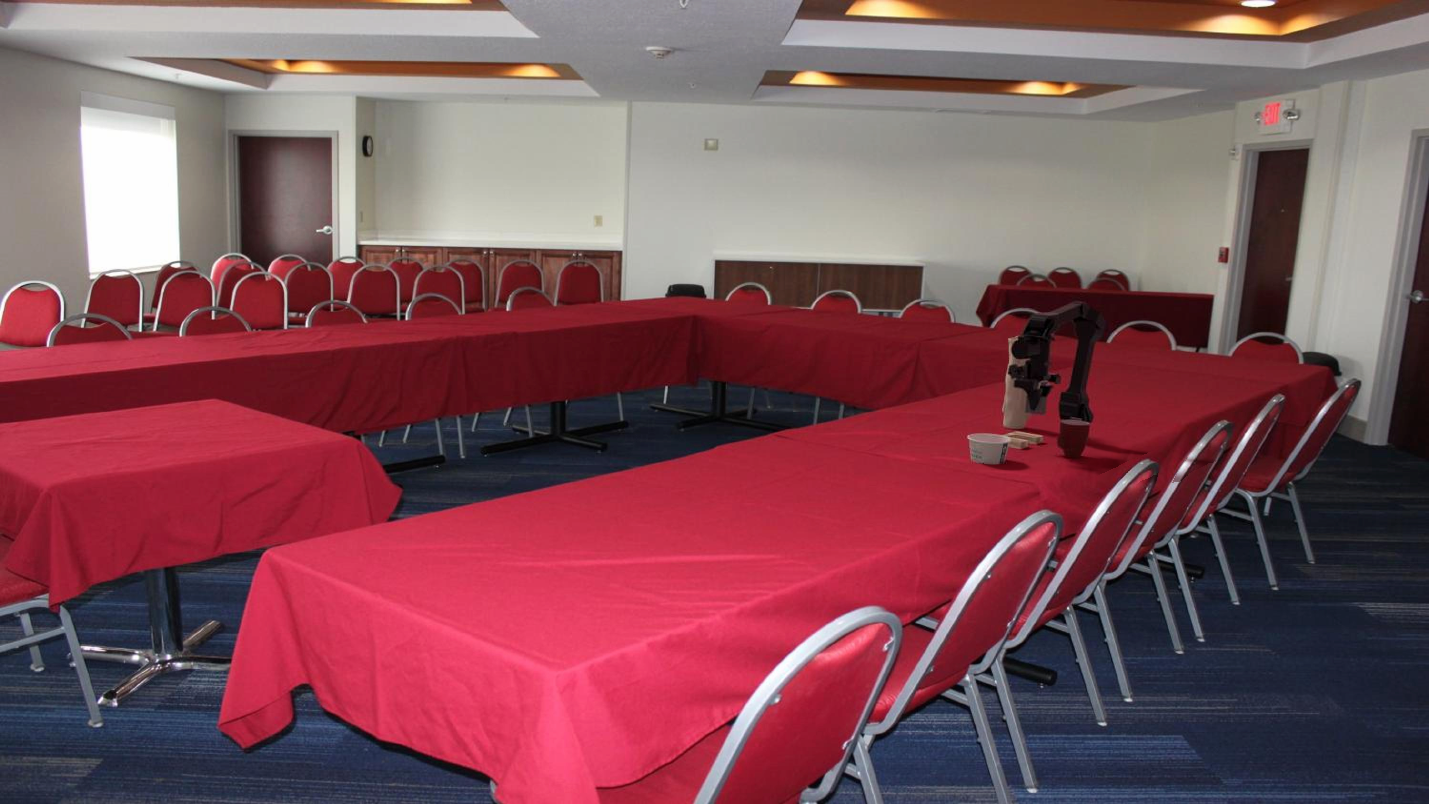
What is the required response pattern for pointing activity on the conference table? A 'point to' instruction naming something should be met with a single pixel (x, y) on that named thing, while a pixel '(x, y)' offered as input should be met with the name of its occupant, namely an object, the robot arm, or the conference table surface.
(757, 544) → the conference table surface
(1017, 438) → the notch board
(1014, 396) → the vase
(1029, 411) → the grey block
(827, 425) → the conference table surface
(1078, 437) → the mug
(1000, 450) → the food container
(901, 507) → the conference table surface
